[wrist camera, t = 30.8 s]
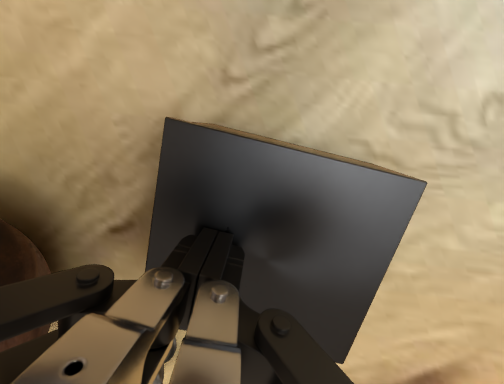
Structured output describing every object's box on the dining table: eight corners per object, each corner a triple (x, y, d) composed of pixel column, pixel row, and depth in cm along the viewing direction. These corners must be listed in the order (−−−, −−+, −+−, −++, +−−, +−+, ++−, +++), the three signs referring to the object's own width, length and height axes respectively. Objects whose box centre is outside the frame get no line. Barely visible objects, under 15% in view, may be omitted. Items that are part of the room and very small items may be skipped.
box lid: (144, 311, 13) (138, 320, 13) (170, 117, 10) (164, 116, 10) (339, 353, 14) (343, 364, 13) (417, 178, 11) (428, 182, 10)
